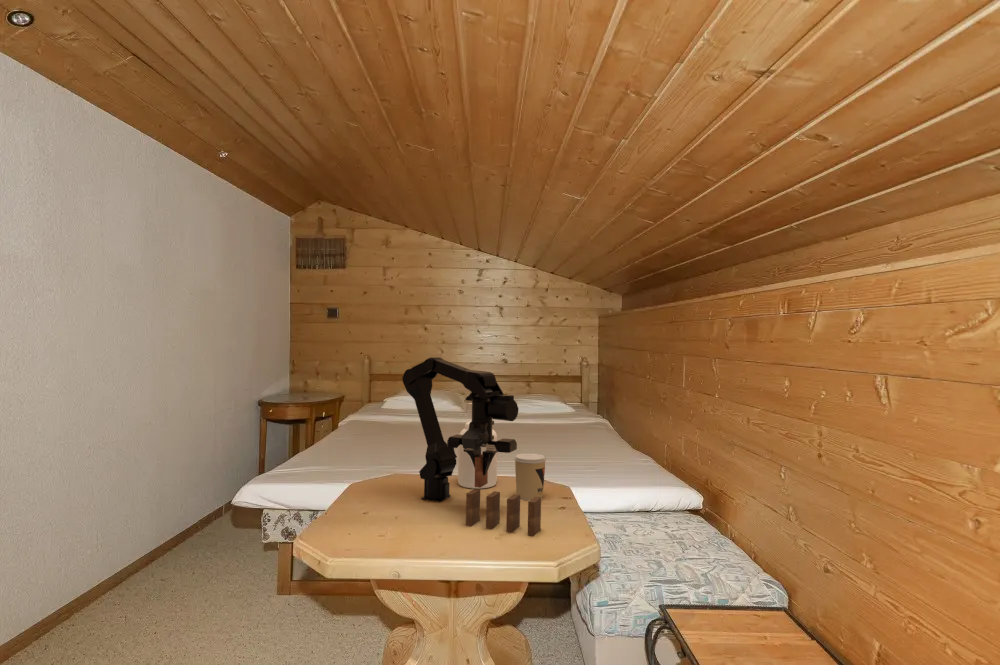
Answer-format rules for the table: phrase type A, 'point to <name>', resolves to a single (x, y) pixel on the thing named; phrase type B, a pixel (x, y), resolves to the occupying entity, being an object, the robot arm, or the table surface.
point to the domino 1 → (472, 507)
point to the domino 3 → (492, 510)
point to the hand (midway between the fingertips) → (481, 474)
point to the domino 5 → (534, 516)
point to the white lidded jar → (467, 468)
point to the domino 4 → (513, 513)
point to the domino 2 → (480, 472)
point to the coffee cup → (529, 475)
